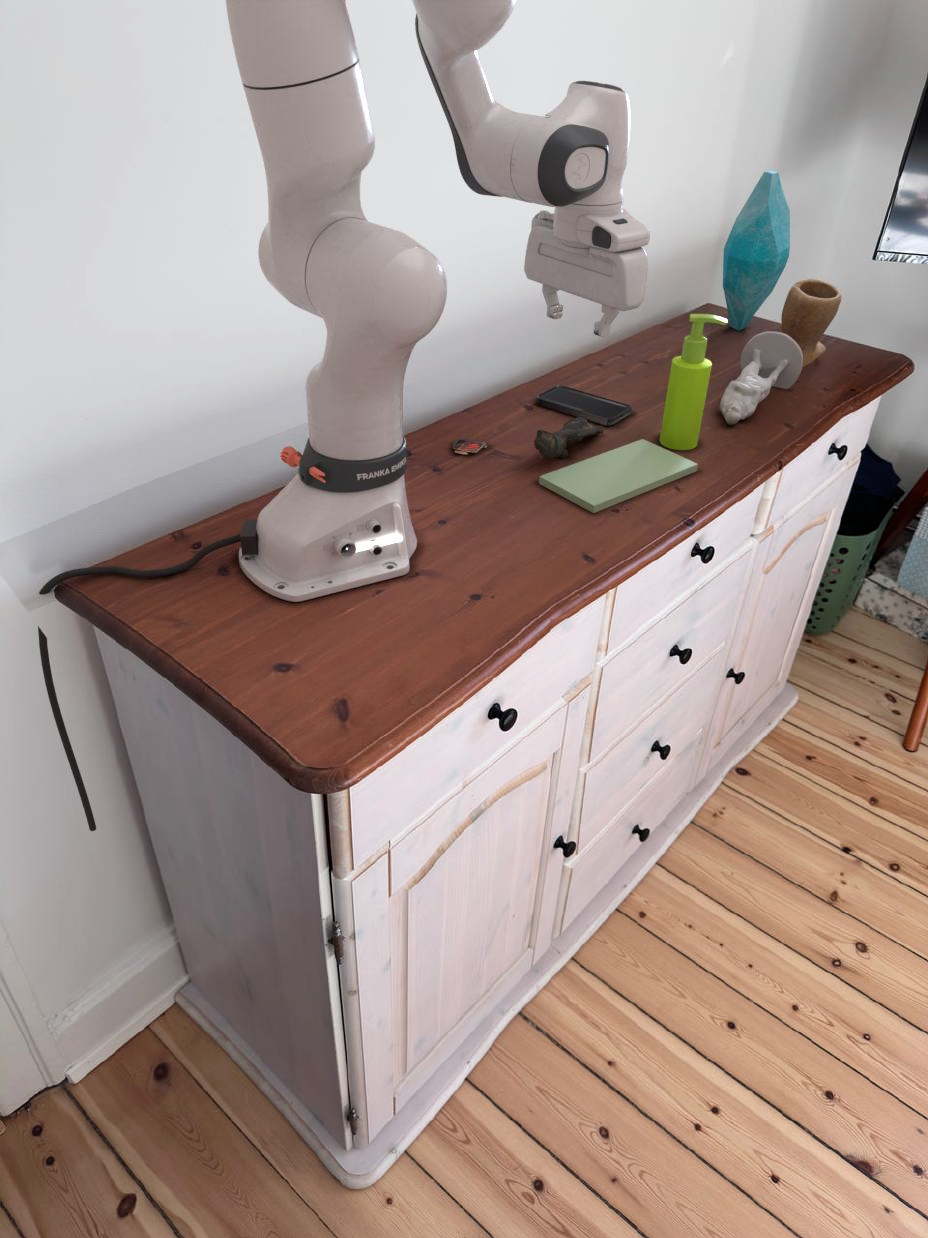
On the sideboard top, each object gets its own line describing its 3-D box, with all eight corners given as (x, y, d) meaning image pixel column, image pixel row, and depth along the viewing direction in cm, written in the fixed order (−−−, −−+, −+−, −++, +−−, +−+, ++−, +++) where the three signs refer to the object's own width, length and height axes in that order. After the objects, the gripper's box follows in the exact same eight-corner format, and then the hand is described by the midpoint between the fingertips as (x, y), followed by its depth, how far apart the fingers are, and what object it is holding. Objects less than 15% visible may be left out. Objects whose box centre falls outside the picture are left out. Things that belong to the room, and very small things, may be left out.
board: (593, 513, 126) (594, 505, 125) (538, 483, 133) (539, 476, 132) (696, 471, 138) (698, 463, 137) (641, 445, 145) (642, 438, 144)
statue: (572, 444, 150) (518, 467, 134) (573, 410, 148) (518, 429, 132) (609, 447, 147) (558, 470, 131) (610, 413, 145) (558, 432, 129)
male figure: (811, 335, 161) (765, 386, 144) (799, 387, 167) (753, 442, 150) (750, 322, 165) (697, 370, 149) (740, 374, 171) (688, 425, 155)
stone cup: (809, 378, 171) (829, 296, 162) (749, 363, 177) (766, 282, 168) (839, 358, 180) (860, 279, 172) (782, 344, 186) (799, 267, 178)
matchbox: (455, 440, 144) (455, 437, 144) (488, 443, 143) (488, 441, 143) (449, 453, 140) (449, 450, 140) (483, 456, 140) (483, 453, 139)
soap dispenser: (703, 452, 143) (728, 323, 131) (658, 448, 144) (679, 319, 132) (703, 437, 148) (727, 311, 136) (659, 433, 149) (679, 307, 137)
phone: (558, 384, 162) (634, 406, 154) (558, 390, 162) (633, 412, 155) (533, 397, 156) (610, 420, 149) (533, 403, 157) (609, 426, 150)
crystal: (781, 326, 196) (816, 171, 179) (753, 341, 187) (787, 180, 170) (728, 313, 202) (757, 163, 185) (699, 328, 193) (726, 171, 176)
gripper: (516, 210, 127) (511, 311, 135) (626, 241, 114) (614, 350, 122) (550, 204, 130) (543, 303, 138) (660, 233, 117) (646, 341, 126)
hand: (577, 326), depth 130 cm, fingers open, 8 cm apart
